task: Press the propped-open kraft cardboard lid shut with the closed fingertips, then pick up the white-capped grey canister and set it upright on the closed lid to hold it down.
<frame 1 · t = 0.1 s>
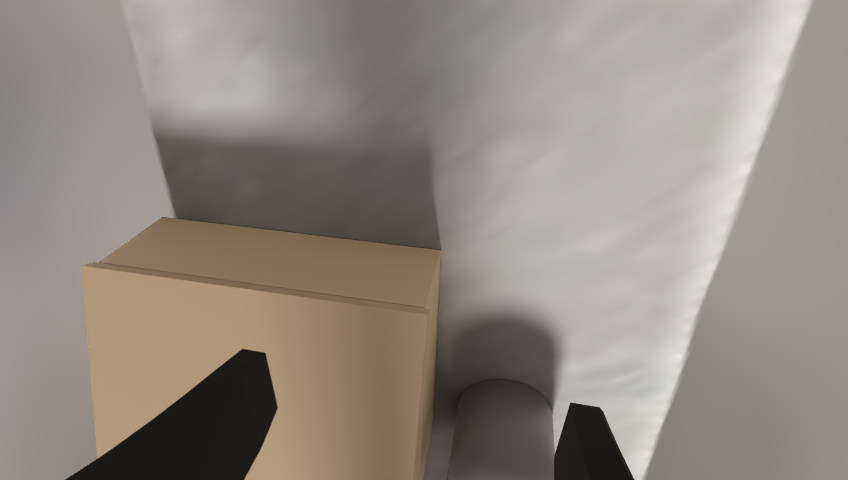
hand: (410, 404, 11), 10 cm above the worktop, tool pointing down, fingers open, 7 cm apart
lid: (248, 436, 19), point 7 cm above the worktop, hinge at 20.0°
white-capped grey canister: (504, 411, 25), on the worktop
carton box: (310, 333, 25), on the worktop
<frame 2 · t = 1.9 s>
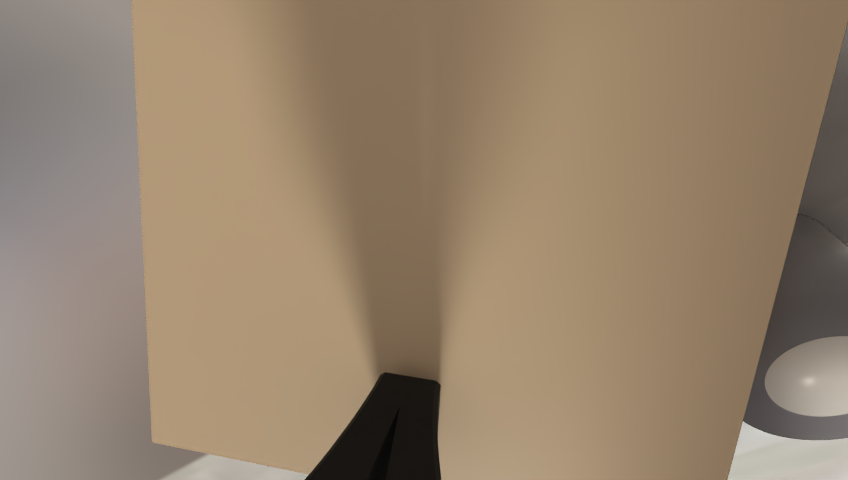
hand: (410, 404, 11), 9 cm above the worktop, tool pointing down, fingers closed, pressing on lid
lid: (429, 235, 10), point 7 cm above the worktop, hinge at 19.9°, touching gripper
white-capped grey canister: (752, 274, 17), on the worktop
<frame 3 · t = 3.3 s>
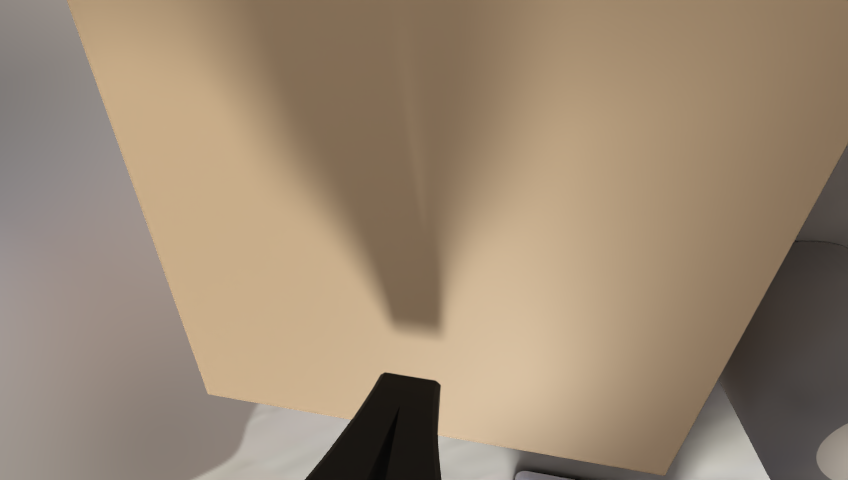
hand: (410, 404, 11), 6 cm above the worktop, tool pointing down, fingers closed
lid: (426, 247, 11), point 4 cm above the worktop, hinge at -0.3°, touching carton box
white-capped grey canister: (780, 309, 15), on the worktop
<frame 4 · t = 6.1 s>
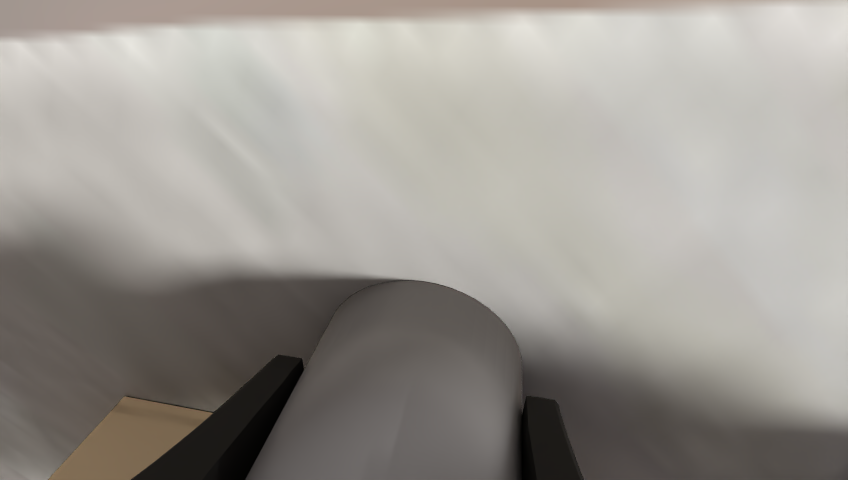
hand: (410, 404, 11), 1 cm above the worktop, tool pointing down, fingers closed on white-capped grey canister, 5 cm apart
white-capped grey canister: (421, 360, 12), on the worktop, touching gripper
when the fingers open (7 cm above the worktop, at t = 8.9 s): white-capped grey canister stays where it is, resting on lid.
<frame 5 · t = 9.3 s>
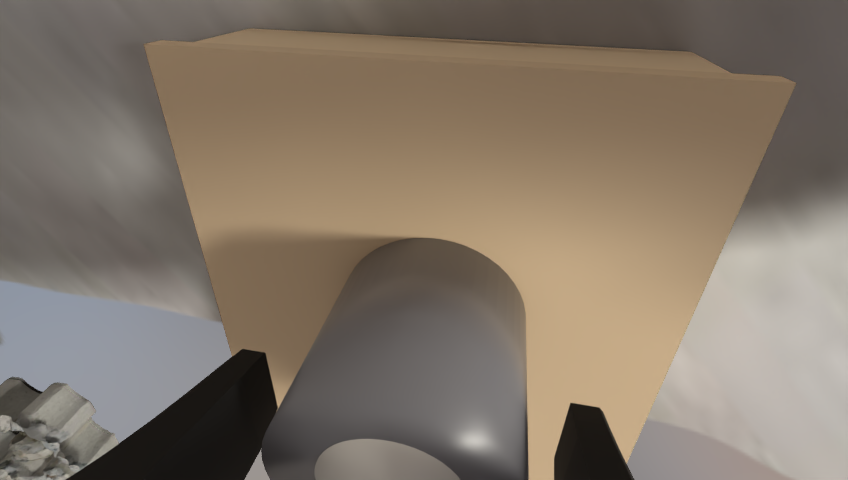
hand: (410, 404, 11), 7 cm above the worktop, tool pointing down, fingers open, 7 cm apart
lid: (428, 317, 13), point 4 cm above the worktop, hinge at -0.3°, touching carton box, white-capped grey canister
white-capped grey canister: (432, 316, 13), point 5 cm above the worktop, touching lid
carton box: (443, 241, 17), on the worktop
egg carton: (45, 407, 30), on the worktop
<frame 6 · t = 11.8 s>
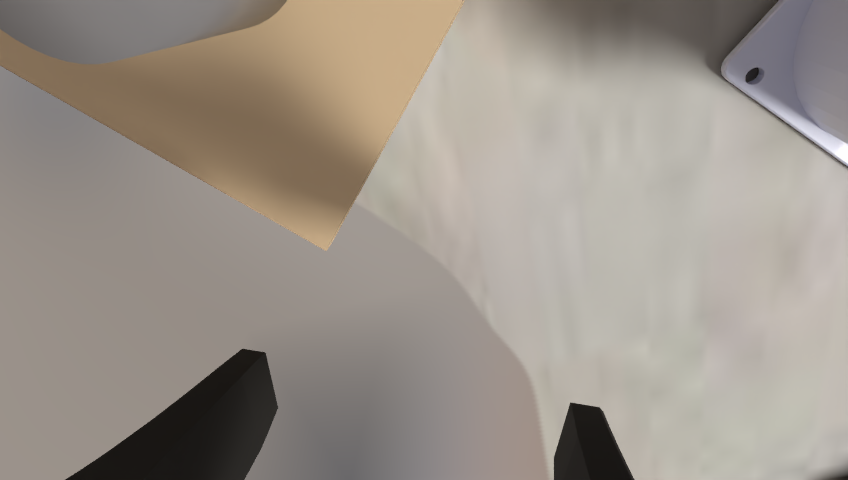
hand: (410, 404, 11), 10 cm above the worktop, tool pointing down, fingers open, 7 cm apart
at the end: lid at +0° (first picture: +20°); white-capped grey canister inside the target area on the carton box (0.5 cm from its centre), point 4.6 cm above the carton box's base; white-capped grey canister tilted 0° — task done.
